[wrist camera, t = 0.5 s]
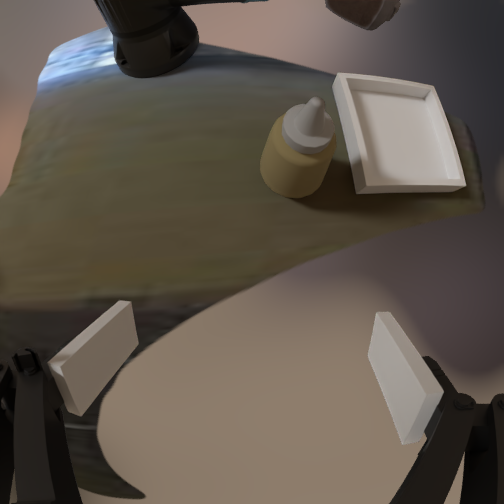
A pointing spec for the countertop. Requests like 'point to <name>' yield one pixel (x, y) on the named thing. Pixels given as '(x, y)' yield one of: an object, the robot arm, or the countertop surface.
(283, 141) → the squeeze bottle
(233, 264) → the countertop surface
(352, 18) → the small grey backpack
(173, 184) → the countertop surface
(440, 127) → the box
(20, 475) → the robot arm
